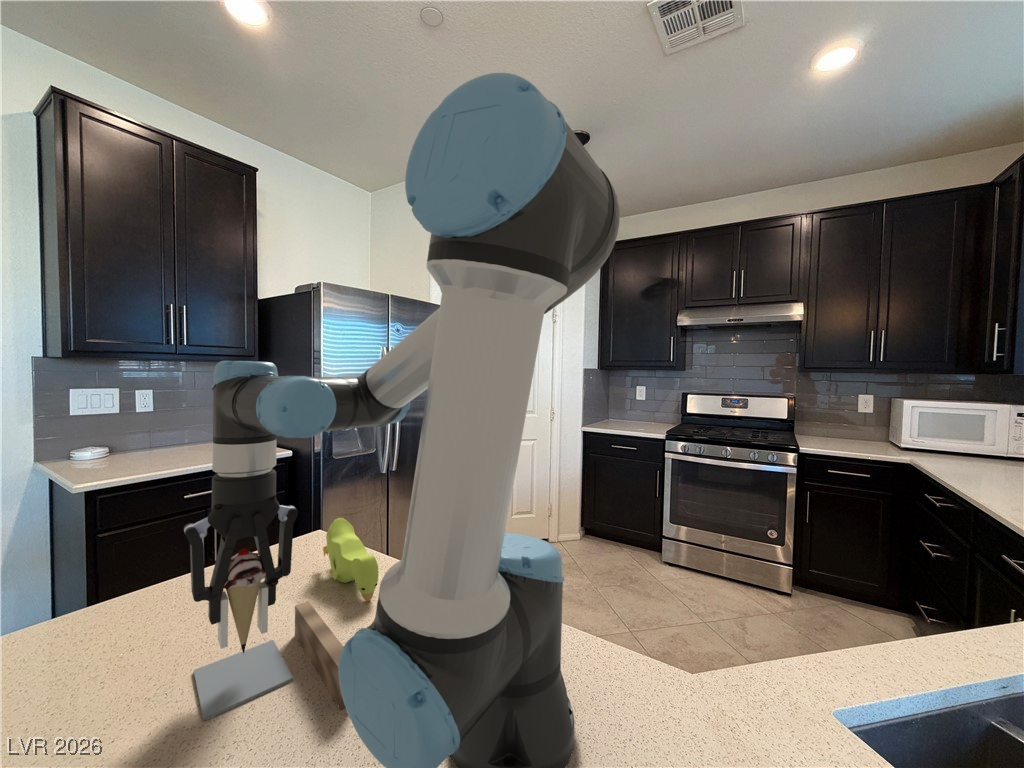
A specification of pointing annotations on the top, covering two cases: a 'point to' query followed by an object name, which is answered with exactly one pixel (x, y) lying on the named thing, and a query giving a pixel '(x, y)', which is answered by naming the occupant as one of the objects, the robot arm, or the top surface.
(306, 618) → the walnut wall
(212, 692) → the grey mat
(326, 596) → the top surface
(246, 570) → the ice cream cone
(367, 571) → the toy
